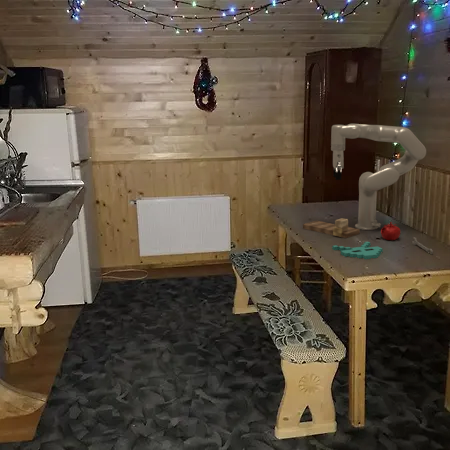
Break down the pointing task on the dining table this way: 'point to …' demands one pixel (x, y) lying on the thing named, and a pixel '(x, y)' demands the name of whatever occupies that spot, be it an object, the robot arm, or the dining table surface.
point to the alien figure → (360, 251)
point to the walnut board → (329, 228)
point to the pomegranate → (390, 232)
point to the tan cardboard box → (340, 227)
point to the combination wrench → (421, 246)
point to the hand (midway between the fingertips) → (337, 178)
